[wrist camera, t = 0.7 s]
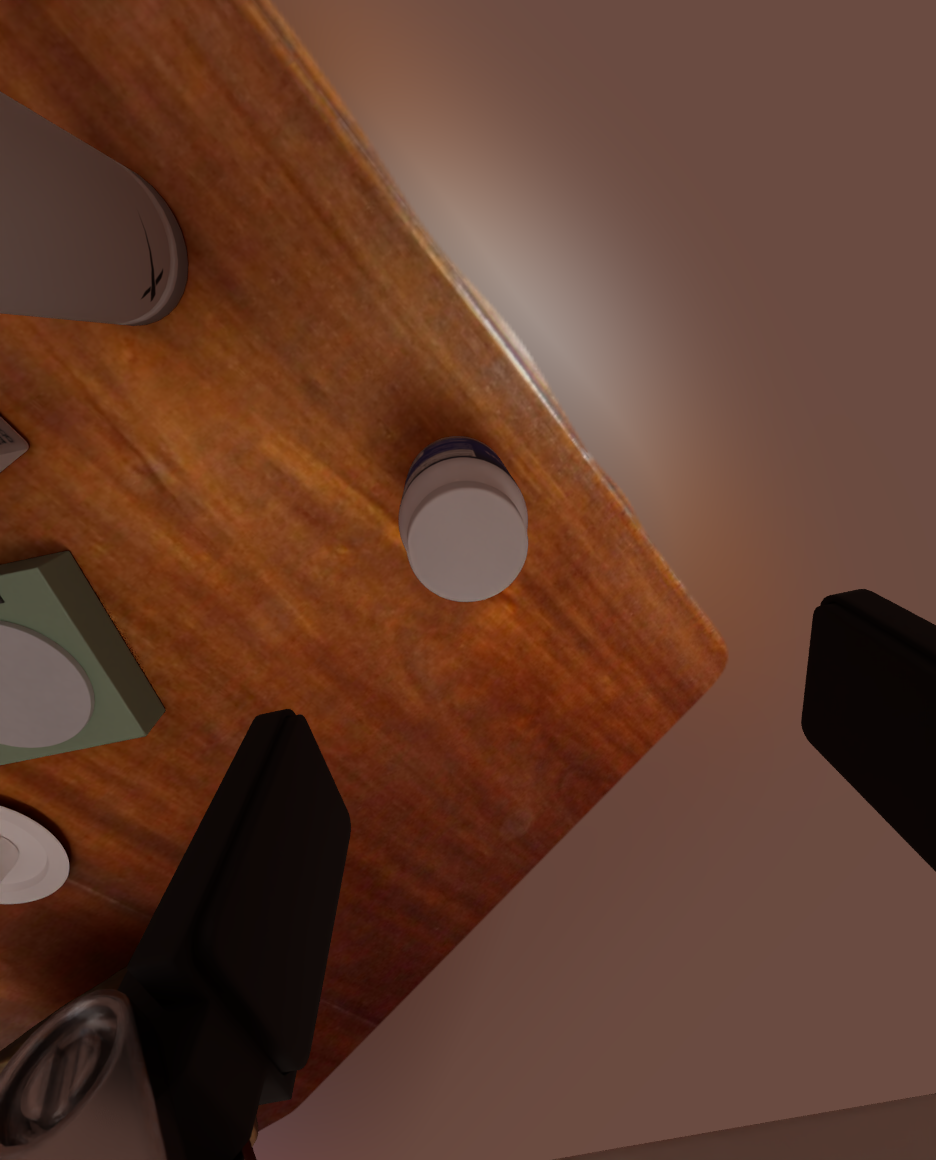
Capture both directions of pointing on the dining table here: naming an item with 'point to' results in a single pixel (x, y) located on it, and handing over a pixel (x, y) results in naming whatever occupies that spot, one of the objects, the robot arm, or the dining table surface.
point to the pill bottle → (463, 520)
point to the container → (10, 445)
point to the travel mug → (81, 230)
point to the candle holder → (28, 859)
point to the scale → (64, 665)
